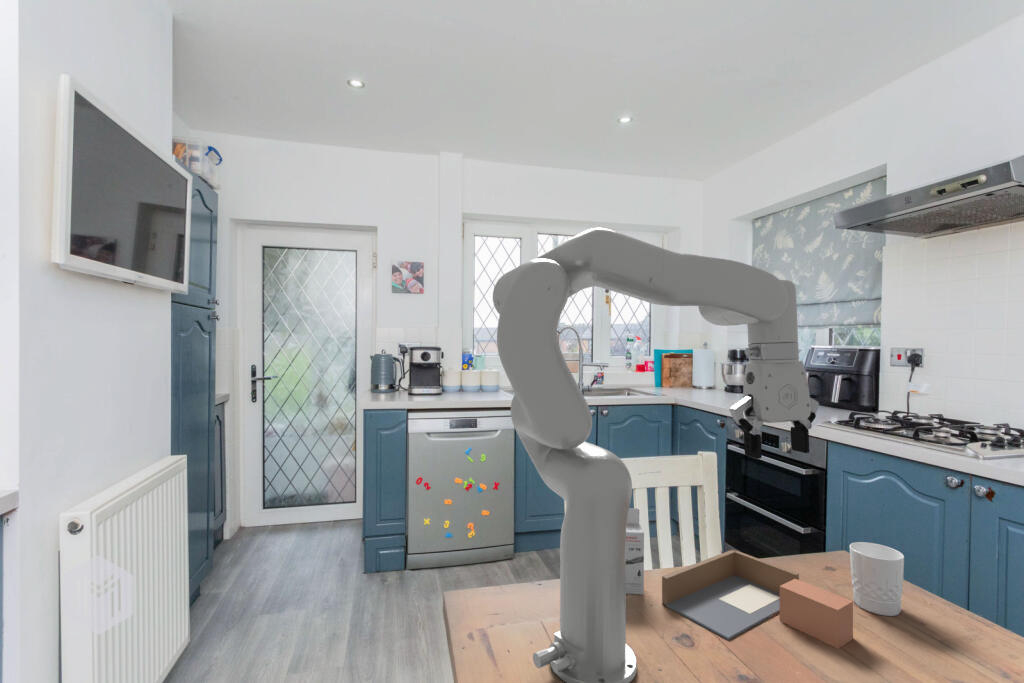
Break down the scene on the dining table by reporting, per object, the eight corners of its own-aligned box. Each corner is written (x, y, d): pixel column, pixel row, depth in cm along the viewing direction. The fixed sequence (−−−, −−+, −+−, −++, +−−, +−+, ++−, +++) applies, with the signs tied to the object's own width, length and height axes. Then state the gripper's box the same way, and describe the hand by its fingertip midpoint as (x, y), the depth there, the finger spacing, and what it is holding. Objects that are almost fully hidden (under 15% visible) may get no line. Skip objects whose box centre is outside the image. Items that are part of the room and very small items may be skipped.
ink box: (598, 593, 92) (598, 514, 92) (596, 580, 97) (596, 506, 97) (644, 595, 91) (644, 516, 91) (640, 582, 96) (640, 507, 96)
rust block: (838, 649, 75) (837, 610, 75) (779, 621, 82) (779, 585, 83) (853, 638, 78) (852, 601, 78) (795, 613, 85) (795, 578, 85)
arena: (728, 640, 77) (728, 608, 77) (662, 604, 88) (662, 576, 88) (799, 601, 89) (798, 573, 89) (733, 573, 100) (733, 549, 100)
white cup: (915, 613, 85) (914, 555, 85) (886, 622, 82) (885, 563, 82) (867, 592, 92) (867, 539, 93) (839, 599, 89) (839, 545, 90)
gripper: (746, 356, 76) (750, 464, 76) (833, 351, 81) (837, 454, 81) (714, 355, 84) (718, 454, 84) (796, 351, 88) (799, 445, 88)
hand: (777, 454), depth 82 cm, fingers open, 9 cm apart
